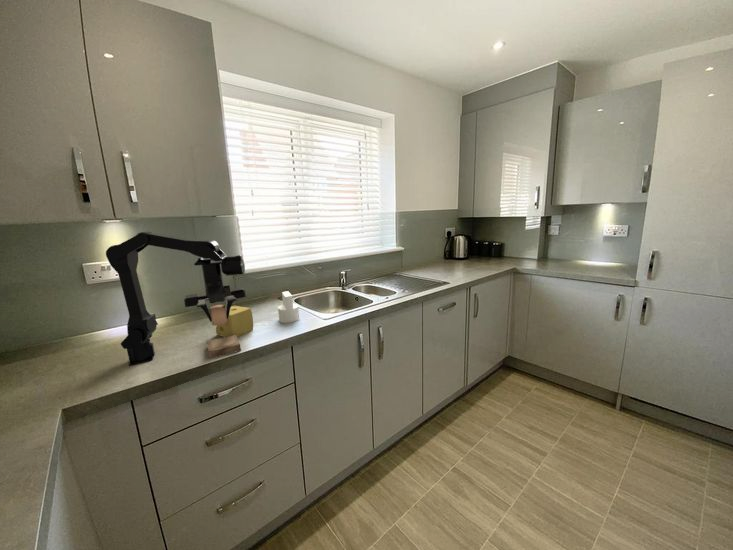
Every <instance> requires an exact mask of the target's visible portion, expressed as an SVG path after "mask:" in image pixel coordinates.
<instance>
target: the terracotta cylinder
mask: <svg viewBox="0 0 733 550" xmlns="http://www.w3.org/2000/svg"><path fill="white" fill-rule="evenodd" d="M208 309H209V313H210V316H211V325H212V326H213V327H214V326H215V327H217V326H218V325H223V324H226V323H227V315H226V304H215V305H212V306H210V307H208Z"/></svg>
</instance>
